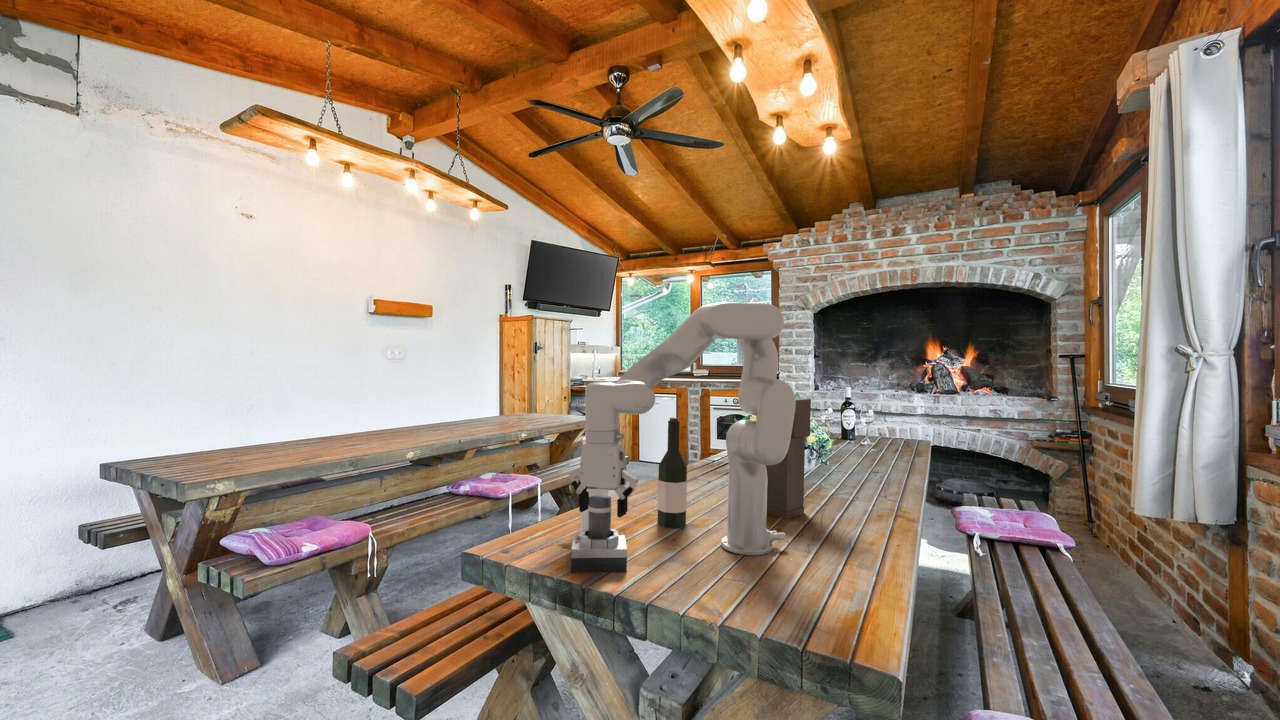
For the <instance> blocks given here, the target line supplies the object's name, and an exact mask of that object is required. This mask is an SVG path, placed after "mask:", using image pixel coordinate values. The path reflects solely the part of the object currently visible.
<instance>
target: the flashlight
mask: <svg viewBox="0 0 1280 720" xmlns="http://www.w3.org/2000/svg"><path fill="white" fill-rule="evenodd" d="M588 511H589V519H588V537H591V538H608V537H610V532H611V529H612V526H611V525H612V524H611V522H612V520H611V519H612V497H611V496H609V495H608V496H606V495H594V496H590V497H589V505H588Z"/></svg>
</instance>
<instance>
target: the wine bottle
mask: <svg viewBox="0 0 1280 720" xmlns="http://www.w3.org/2000/svg"><path fill="white" fill-rule="evenodd" d="M667 422H668V423H667V451H666V452H665V453H664V456H663V457H662V459H661V461H660V462H659V465H658V478H657V479H658V483H657V485H658V487H657V489H658V492H657V525H658V524H659V525H658V526H660V525H661V526H660V527H662V526H663V528H665V527H666V528H667V529H678V528H684V526H685V527H686V524H687V522H686V521H687V491H688V489H687V487H688V485H687V484H688V483H687V481H688V478H687V477H688V464H687V461H686V460H685V458H684V456H683V454H682V452H681V451H680V428H681V427H680V420H679V417H675V416H673V417H669V419H668V421H667ZM666 528H665V529H666Z"/></svg>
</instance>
